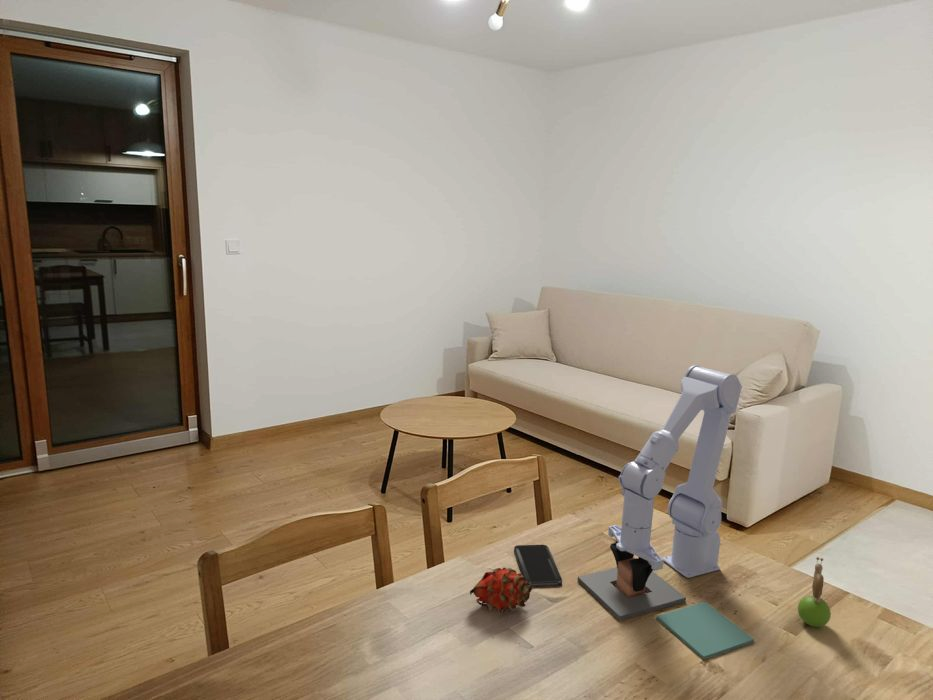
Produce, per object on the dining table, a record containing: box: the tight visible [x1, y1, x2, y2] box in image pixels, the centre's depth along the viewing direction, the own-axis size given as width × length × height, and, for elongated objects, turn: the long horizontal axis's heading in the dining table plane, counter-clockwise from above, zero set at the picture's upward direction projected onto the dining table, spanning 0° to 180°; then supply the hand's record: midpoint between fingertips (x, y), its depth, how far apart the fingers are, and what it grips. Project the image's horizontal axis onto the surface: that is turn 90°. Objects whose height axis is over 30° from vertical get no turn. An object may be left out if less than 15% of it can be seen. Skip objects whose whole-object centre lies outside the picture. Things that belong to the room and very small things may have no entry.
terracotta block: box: [615, 557, 646, 598], centre depth 127 cm, size 4×4×6 cm
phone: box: [513, 544, 563, 588], centre depth 135 cm, size 8×1×15 cm
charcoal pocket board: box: [577, 566, 687, 622], centre depth 127 cm, size 16×14×1 cm
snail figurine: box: [797, 556, 832, 628], centre depth 118 cm, size 5×6×12 cm
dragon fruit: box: [469, 567, 533, 615], centre depth 120 cm, size 8×8×12 cm
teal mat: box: [656, 601, 755, 660], centre depth 116 cm, size 12×12×1 cm
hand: (631, 583), depth 127 cm, fingers closed on terracotta block, 4 cm apart
